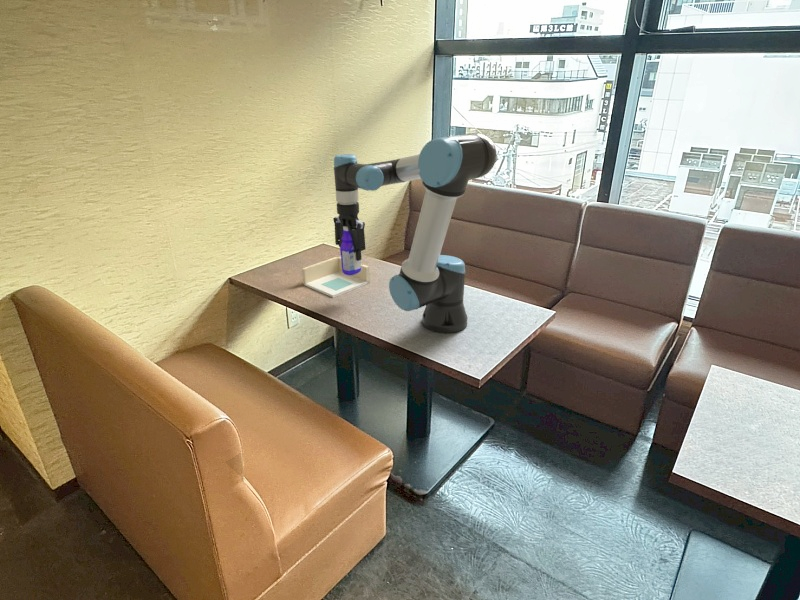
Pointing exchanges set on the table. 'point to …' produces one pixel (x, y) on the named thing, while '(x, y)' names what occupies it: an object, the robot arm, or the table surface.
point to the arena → (333, 277)
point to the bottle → (347, 253)
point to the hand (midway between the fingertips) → (351, 266)
